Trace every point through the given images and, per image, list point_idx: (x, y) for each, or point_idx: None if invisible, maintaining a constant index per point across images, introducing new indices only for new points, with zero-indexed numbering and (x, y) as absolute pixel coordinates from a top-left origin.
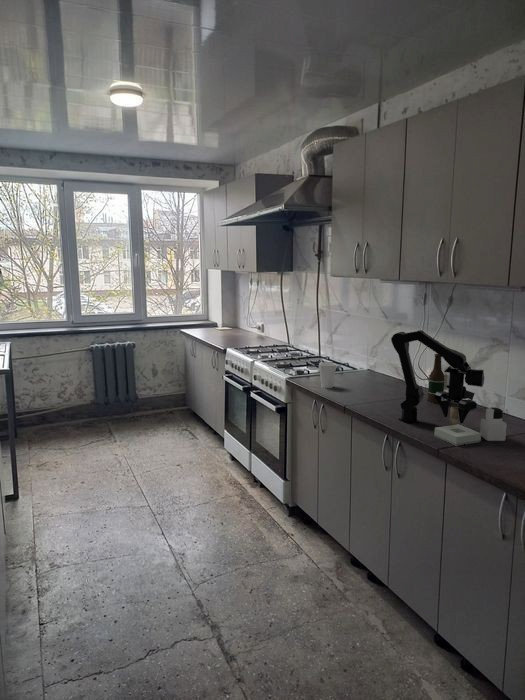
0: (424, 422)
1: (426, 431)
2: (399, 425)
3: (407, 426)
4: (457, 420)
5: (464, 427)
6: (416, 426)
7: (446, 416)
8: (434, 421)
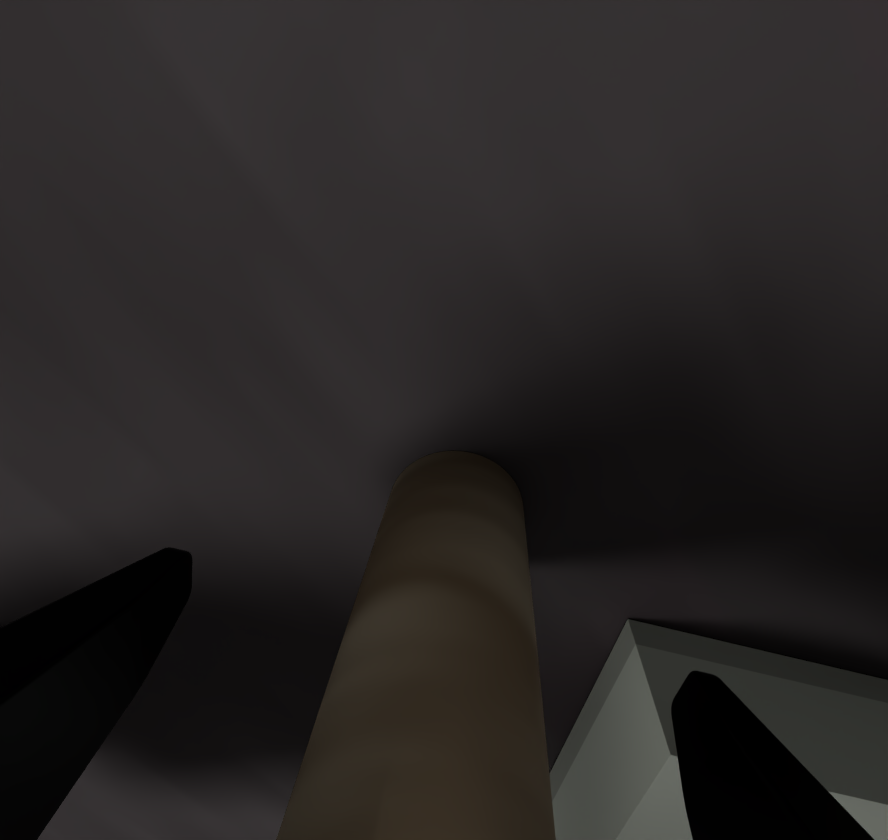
0: (32, 589)
1: None
2: (58, 834)
3: (115, 813)
4: (535, 631)
5: None
6: (150, 762)
7: (187, 578)
8: (26, 438)
